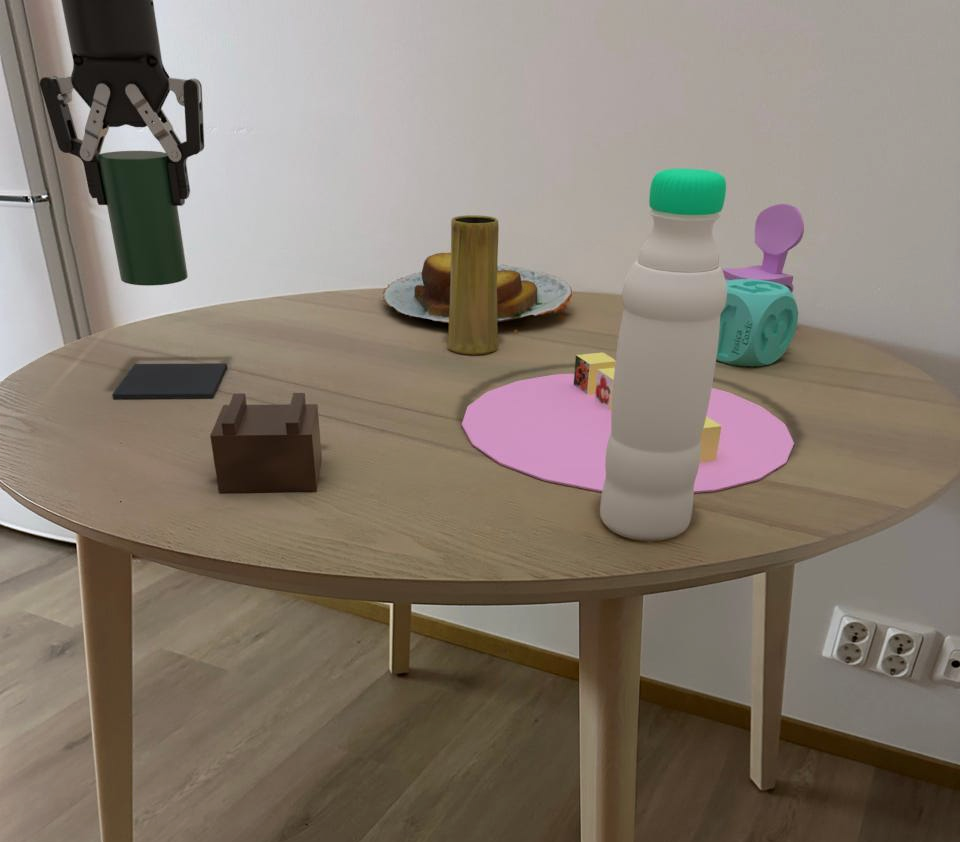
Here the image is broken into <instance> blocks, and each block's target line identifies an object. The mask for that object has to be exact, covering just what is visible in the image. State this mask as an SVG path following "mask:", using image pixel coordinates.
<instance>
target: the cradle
mask: <svg viewBox="0 0 960 842" xmlns="http://www.w3.org/2000/svg"><path fill="white" fill-rule="evenodd" d="M319 418H320V417H319V407H318V404H317V403H306V394H305V392H293V393H292V396H291V400H290V404H289V403H288V404H282V403H279V404H247V397H246V393H243V392H242V393H238V392H237V393H235V392H234V393H233V395H232V397H231V399H230V401H229V404H223V405H222V407H221V409H220V412H219V413H218V416H217V419H216V421H215V423H214V426H213V428H212V430H211V433H210V436H209V437H210V443H211V451H212V457H213V464H214V471H215V477H216V484H217V489H218V493H219V494H226V493H227V494H234V493H235V494H237V493H238V494H239V493H241V494H242V493H295V492H296V493H298V492H303V493H304V492H317V491H318V486H319V478H320V473H321V465H322V459H323V456H322V455H323V454H322V443H321V432H320V431H321V430H320V419H319Z"/></svg>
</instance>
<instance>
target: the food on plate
mask: <svg viewBox="0 0 960 842" xmlns="http://www.w3.org/2000/svg"><path fill="white" fill-rule="evenodd" d="M421 269H422V270H421V271H420V272H418V273H417V272H415V273H413V274H409V275H406V276H405V277H400V278H399V279H398V278H397V279H396V280H395V281H393V282H391V283H390V284H387V287H386V288H383V292H382V294H383V301H385V302H386V303H387V305H388V306H389V307H391V308H392V307H393V308H394V309H395V310H396V312H397V313H401V314H404V315H406V316H407V315H408V316H409V317H411V318H412V317H416V318H421V319H428V320H432V321H433V322H441V323H446V324H447V323H448V324H449V311H450V282H451V252H437V253H434V254H432V255H428V256H427V258H425V259H424V262H423V266H422V268H421ZM572 297H573V290H572V287H571V286H570V285H569V284H568V282H566V280H563V279H561V278H560V277H557V276H555V275H552V274H548V273H545V272H543V271H539V270H533V269H529V268H525V267H522V266H519V267H514V266H512V265H506V264H497V323H501V322H502V323H503V322H509V321H513V320H519V319H523V318H527V317H530V316H531V315H533V316H535V317H537V316H539V315H541V316H542V315H545V314H552V313H553V312H554V313H555V314H556V313H557V311H559V310H561V309H563V310H562V311H561V312H560V314H559V316H558V317H559V318H565V317H566V315H564V313H563V312H564V308H566V307H567V305H568V303H570V301H571V298H572ZM513 332H514V333H516V332H518V329H515V330H513Z"/></svg>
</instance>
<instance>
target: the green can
mask: <svg viewBox="0 0 960 842" xmlns="http://www.w3.org/2000/svg"><path fill="white" fill-rule="evenodd" d="M98 160H99V165H100V171H101V176H102V181H103V187H104V192H105V197H106V203H107V205H106V207H107V212H108V213H107V214H108V218H109V223H110V224H109V225H110V229H111V234H112V239H113V245H114V250H115V255H116V260H117V265H118V270H119V277H120V280H121V282H123V283H125V284H129V285H132V286H147V287H150V286H164V285H171V284H176V283H180V282H183V281H185V280H186V279H188V277H189V276H188V269H187V262H186V256H185V248H184V242H183V234H182V229H181V222H180V221H181V220H180V215H179V208H178V206H174V203H173V198H172V191H171V185H170V179H169V172H168V166H167V163H168V162H170V160H169V157H168V155H167V153H166V152H165V151H164V152H163V151H158V150H157V151H155V150H118V151H117V150H116V151H108V152H102V153H100V154H99V155H98Z"/></svg>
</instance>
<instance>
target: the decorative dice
mask: <svg viewBox="0 0 960 842" xmlns="http://www.w3.org/2000/svg"><path fill="white" fill-rule="evenodd" d="M726 285H727V299H726V303H725V307H724V309H723V311H722V312H721V314H720V329H719V340H718V349H717V357H716V362H720V363H723V364H726V363H727V364H726V365H731V366H736V365H737V366H739V367H747V366H750V367H751V368H752V367H754V366H757V367H765V365H766V366H770V365H772V364H773V363H775V362H776V361H778V360H779V359H780V358H781V357H782V356H784V354H785V353H786V352H787V350H788V348H789V347H790V345H791V344H792V341H793V339H794V336H795V335H796V334H795V333H796V330H797V327H798V321H799V309H798V305H797V301H796V299H795V297H794V294H793V292H792V293H791V291H790V290H789V288H788V287H786V286H784V285H782V284H779V283H775V282H770V281H764V280H755V279H735V280H728V281H726ZM750 367H749V368H750ZM754 368H755V367H754Z"/></svg>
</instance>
